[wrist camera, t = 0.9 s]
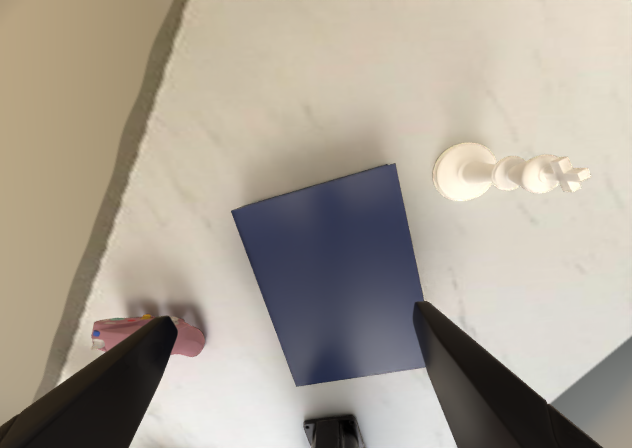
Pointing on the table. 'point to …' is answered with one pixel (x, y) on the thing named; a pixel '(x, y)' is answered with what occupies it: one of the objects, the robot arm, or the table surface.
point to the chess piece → (501, 173)
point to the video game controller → (120, 328)
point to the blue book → (337, 276)
